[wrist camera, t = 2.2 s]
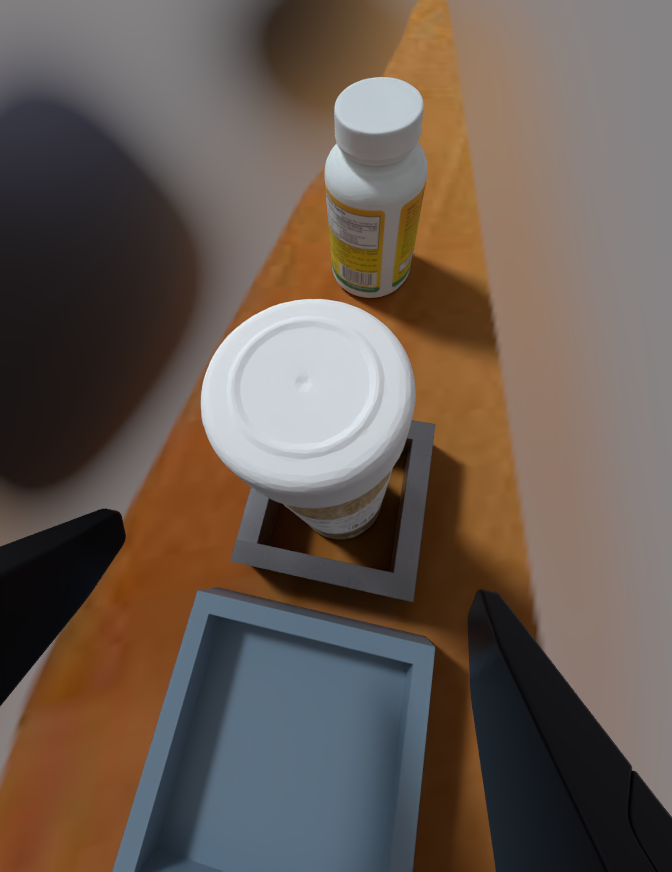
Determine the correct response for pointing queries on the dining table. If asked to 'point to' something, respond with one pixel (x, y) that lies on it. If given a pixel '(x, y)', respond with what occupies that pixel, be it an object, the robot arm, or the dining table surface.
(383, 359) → the sprinkles bottle
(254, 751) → the tray
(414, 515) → the bottle holder
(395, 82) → the supplement bottle
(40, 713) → the dining table surface
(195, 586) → the dining table surface
